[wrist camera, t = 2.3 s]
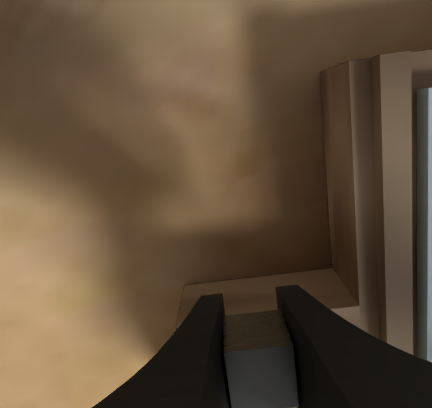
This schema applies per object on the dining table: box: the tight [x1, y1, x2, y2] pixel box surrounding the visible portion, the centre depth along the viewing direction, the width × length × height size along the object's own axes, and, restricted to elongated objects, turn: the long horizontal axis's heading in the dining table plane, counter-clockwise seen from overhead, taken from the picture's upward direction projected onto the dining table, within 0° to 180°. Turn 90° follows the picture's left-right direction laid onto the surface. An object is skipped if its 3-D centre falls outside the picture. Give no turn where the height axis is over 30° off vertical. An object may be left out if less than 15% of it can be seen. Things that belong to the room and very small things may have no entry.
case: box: [176, 49, 432, 408], centre depth 13 cm, size 14×16×4 cm
